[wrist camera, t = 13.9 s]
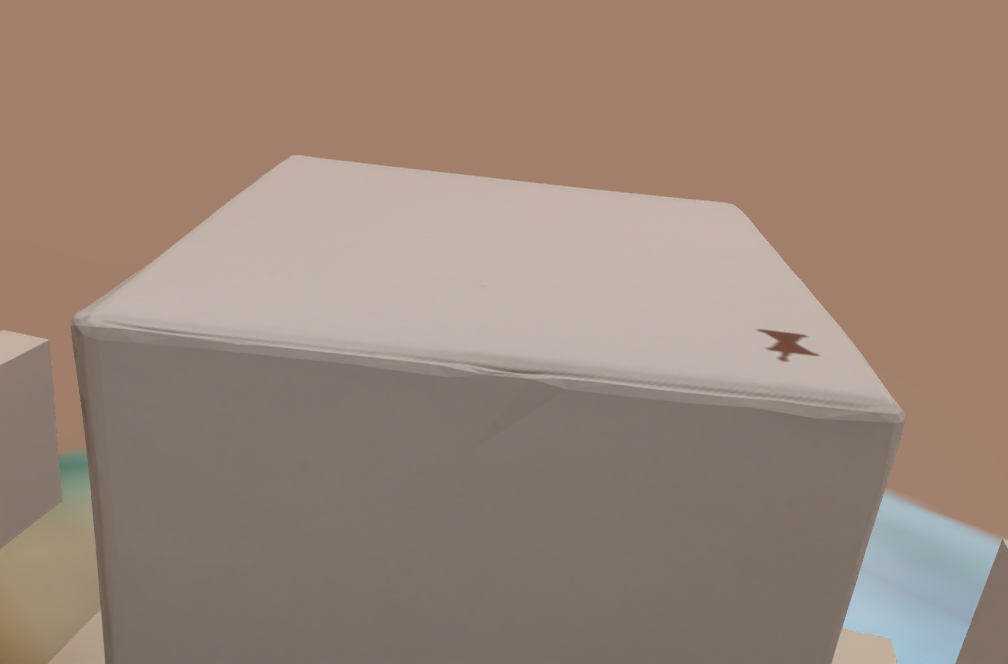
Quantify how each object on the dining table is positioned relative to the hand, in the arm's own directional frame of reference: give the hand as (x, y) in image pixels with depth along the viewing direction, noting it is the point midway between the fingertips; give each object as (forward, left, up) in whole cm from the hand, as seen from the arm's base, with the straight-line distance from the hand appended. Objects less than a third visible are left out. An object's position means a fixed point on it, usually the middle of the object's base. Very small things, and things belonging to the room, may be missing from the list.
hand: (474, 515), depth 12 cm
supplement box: (0, 0, -9) cm, 9 cm away
